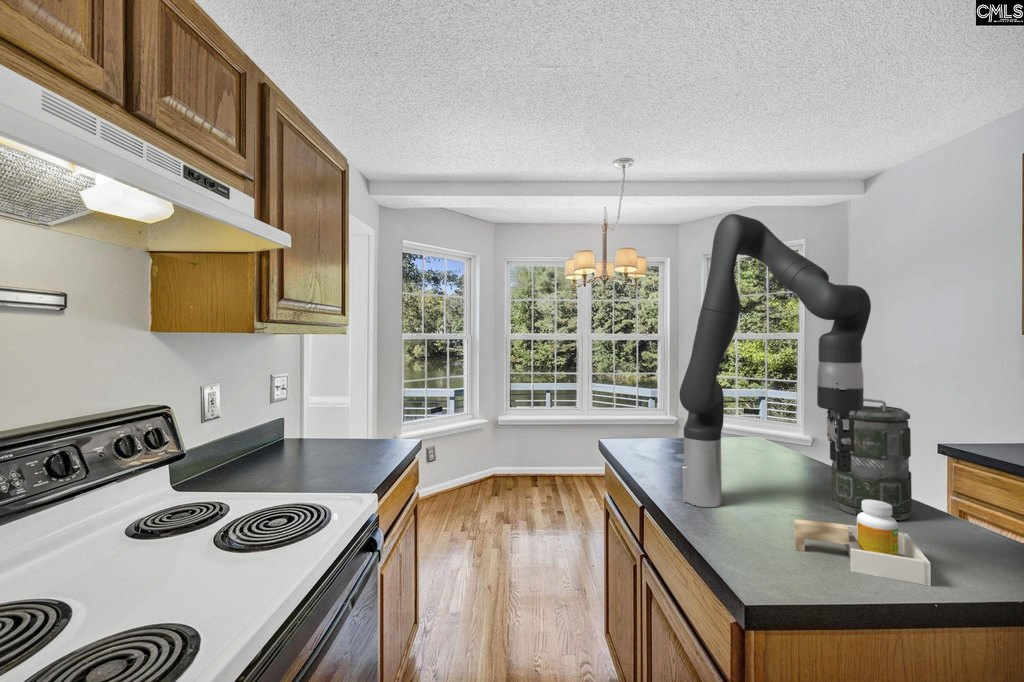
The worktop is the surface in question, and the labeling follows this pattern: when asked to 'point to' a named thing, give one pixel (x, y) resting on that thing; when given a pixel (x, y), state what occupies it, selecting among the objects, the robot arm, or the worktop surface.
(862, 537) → the supplement bottle
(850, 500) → the canister
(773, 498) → the worktop surface
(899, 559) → the box
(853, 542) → the scraper
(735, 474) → the worktop surface
